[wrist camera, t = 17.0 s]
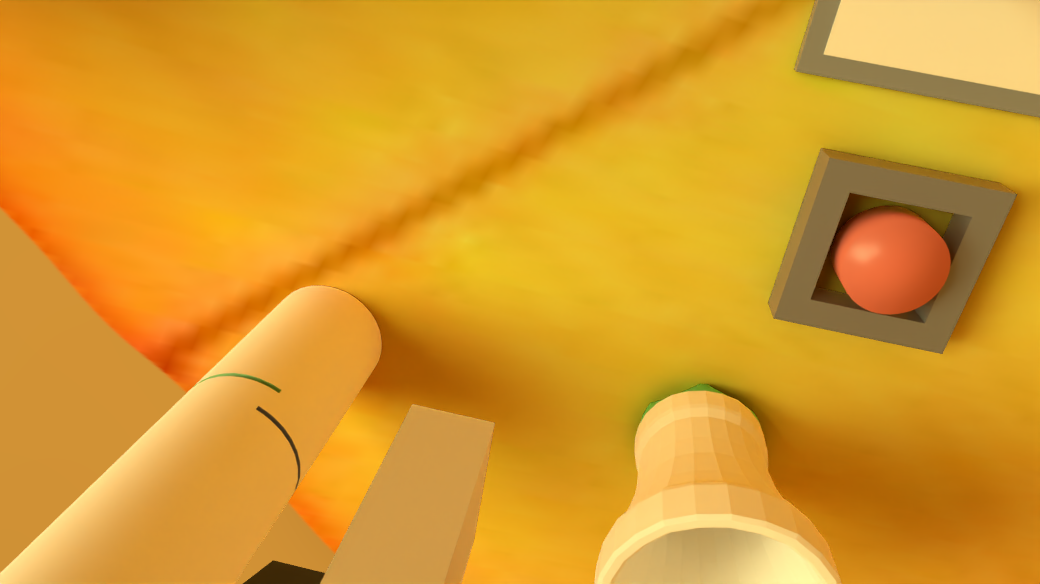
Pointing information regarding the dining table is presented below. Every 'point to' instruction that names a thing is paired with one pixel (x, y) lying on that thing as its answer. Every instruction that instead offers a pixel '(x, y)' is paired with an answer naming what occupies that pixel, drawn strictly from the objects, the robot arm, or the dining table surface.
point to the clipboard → (931, 48)
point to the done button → (890, 260)
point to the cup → (709, 504)
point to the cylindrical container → (217, 456)
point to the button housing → (843, 173)
